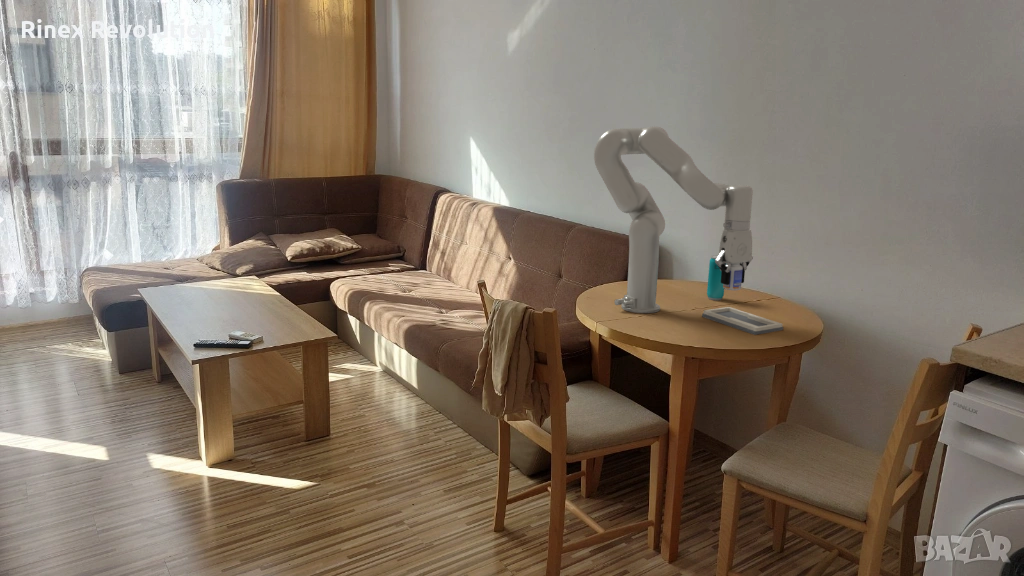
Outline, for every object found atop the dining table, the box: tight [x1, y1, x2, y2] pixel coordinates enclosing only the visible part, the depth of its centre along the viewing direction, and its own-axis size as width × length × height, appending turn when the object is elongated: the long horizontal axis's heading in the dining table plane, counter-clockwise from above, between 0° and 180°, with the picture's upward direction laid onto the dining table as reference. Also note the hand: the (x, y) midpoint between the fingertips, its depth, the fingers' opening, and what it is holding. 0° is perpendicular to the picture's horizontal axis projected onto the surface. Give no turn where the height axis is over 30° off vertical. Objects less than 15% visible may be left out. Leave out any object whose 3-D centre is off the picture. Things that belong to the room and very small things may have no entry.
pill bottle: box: [723, 263, 743, 291], centre depth 233 cm, size 5×5×10 cm
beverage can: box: [706, 255, 727, 301], centre depth 260 cm, size 6×6×15 cm
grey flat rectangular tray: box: [701, 306, 784, 336], centre depth 232 cm, size 12×22×2 cm, turn 29°
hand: (732, 282), depth 234 cm, fingers closed on pill bottle, 5 cm apart
